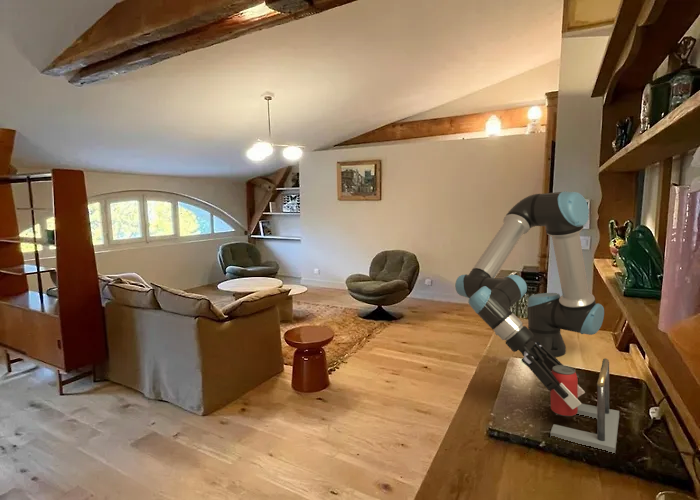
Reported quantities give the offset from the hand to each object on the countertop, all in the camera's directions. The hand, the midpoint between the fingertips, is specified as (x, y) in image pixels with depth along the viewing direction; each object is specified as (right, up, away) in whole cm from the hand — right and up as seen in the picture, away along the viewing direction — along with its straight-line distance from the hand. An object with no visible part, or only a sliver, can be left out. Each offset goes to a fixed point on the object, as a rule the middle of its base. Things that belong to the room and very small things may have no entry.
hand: (578, 400), depth 109 cm
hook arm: (+5, -7, -2) cm, 9 cm away
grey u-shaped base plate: (+2, -7, 0) cm, 7 cm away
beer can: (-3, -4, +3) cm, 6 cm away
